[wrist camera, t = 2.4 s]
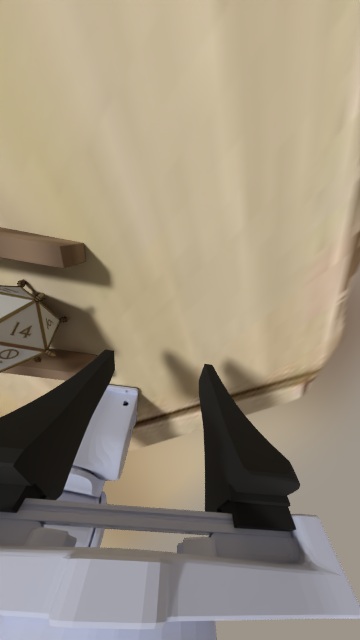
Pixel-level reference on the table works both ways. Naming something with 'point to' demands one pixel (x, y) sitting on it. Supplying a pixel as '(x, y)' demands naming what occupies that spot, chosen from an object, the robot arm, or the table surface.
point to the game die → (24, 326)
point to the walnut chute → (55, 255)
